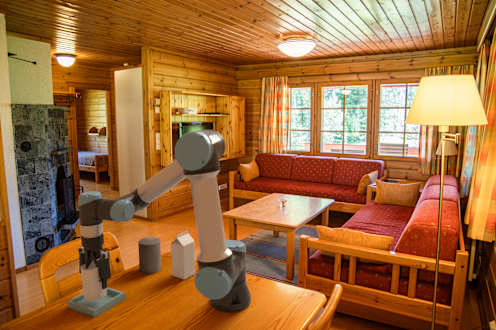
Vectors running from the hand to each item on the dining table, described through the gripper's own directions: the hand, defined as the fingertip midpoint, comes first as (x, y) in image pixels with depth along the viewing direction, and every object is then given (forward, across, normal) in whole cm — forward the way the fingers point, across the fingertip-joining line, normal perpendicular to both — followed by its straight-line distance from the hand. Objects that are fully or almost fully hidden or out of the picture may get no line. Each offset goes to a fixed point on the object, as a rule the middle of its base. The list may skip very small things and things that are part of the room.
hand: (96, 294), depth 129 cm
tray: (+4, 0, 0) cm, 4 cm away
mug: (+1, 0, 0) cm, 1 cm away
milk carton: (+4, -15, -33) cm, 36 cm away
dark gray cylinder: (+4, +2, -31) cm, 31 cm away
